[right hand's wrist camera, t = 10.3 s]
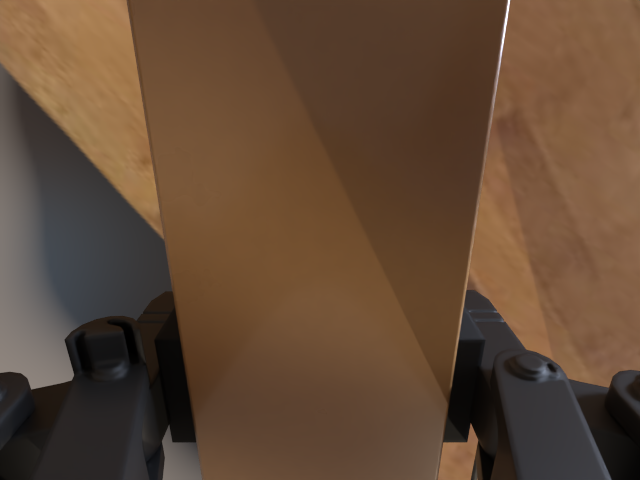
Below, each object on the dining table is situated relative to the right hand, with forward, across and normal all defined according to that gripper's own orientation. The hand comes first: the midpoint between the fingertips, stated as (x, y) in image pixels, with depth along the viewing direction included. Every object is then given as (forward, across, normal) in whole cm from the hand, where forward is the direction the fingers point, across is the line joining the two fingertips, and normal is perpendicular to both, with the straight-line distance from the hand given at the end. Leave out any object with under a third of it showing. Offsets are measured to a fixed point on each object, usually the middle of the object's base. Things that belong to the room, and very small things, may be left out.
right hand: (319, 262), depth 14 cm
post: (+1, 0, -29) cm, 29 cm away
